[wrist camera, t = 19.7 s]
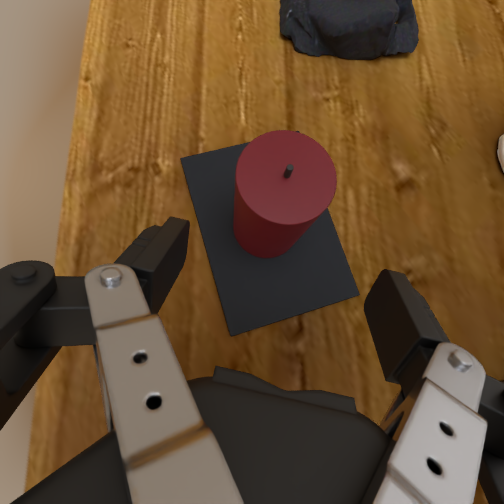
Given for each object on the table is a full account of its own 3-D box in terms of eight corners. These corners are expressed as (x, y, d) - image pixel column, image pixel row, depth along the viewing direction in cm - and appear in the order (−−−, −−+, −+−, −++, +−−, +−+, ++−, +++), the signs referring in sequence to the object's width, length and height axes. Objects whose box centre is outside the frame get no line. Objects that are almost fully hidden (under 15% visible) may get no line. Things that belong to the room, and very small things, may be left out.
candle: (286, 188, 28) (322, 109, 17) (306, 248, 27) (359, 203, 16) (225, 204, 27) (222, 131, 16) (243, 266, 26) (254, 231, 15)
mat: (297, 133, 30) (298, 130, 29) (357, 295, 27) (360, 295, 26) (181, 161, 28) (180, 157, 28) (230, 336, 25) (230, 336, 25)
